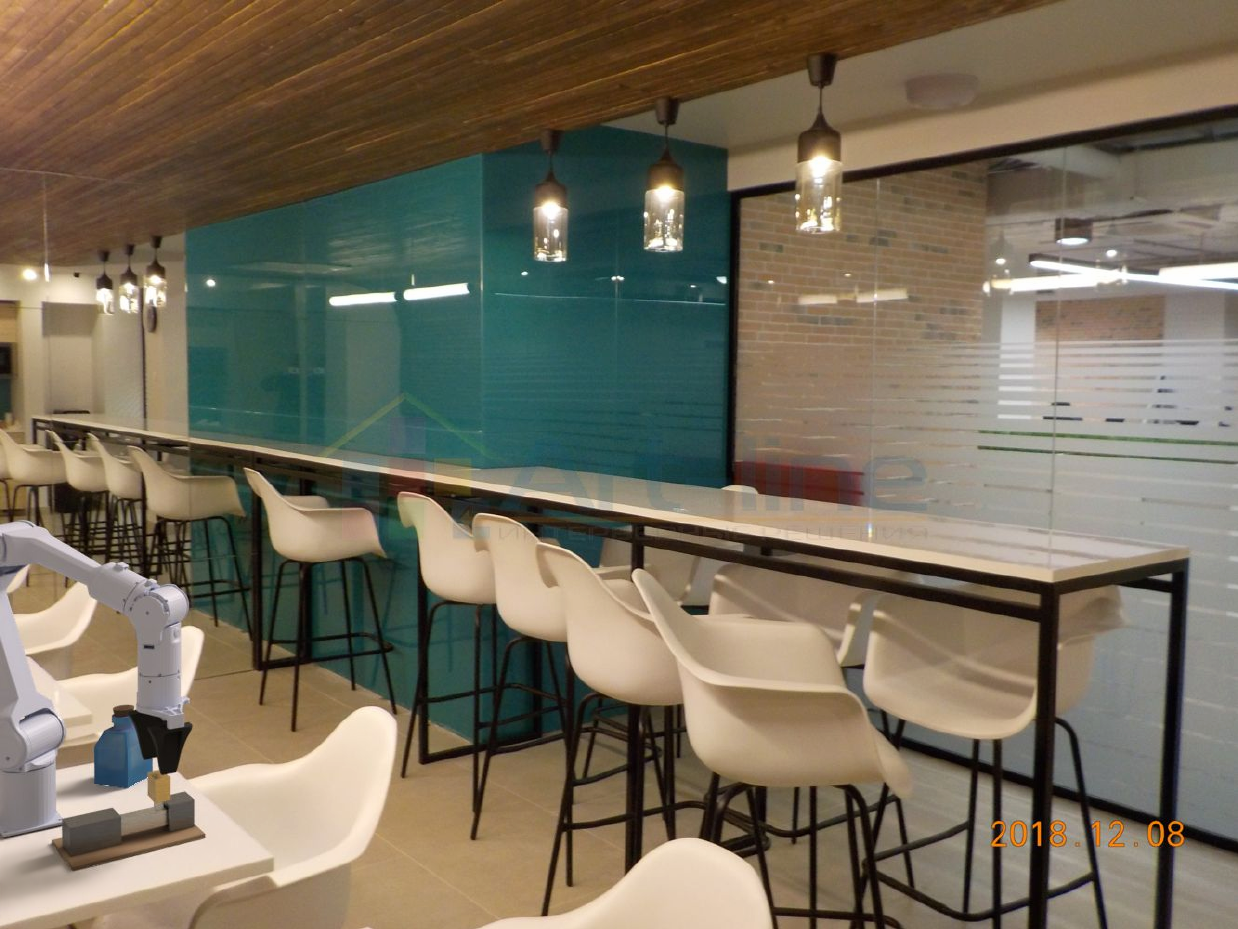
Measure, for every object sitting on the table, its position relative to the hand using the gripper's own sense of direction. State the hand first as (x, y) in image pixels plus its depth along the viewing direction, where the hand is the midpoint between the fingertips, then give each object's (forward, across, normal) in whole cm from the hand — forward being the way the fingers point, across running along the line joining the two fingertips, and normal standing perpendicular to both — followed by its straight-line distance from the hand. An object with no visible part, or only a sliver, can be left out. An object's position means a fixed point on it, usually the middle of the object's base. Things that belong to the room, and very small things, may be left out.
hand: (159, 765), depth 150 cm
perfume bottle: (+10, +25, -2) cm, 27 cm away
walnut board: (+10, 0, +4) cm, 11 cm away
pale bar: (+8, 0, +2) cm, 9 cm away
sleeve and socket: (+10, 0, +4) cm, 11 cm away
